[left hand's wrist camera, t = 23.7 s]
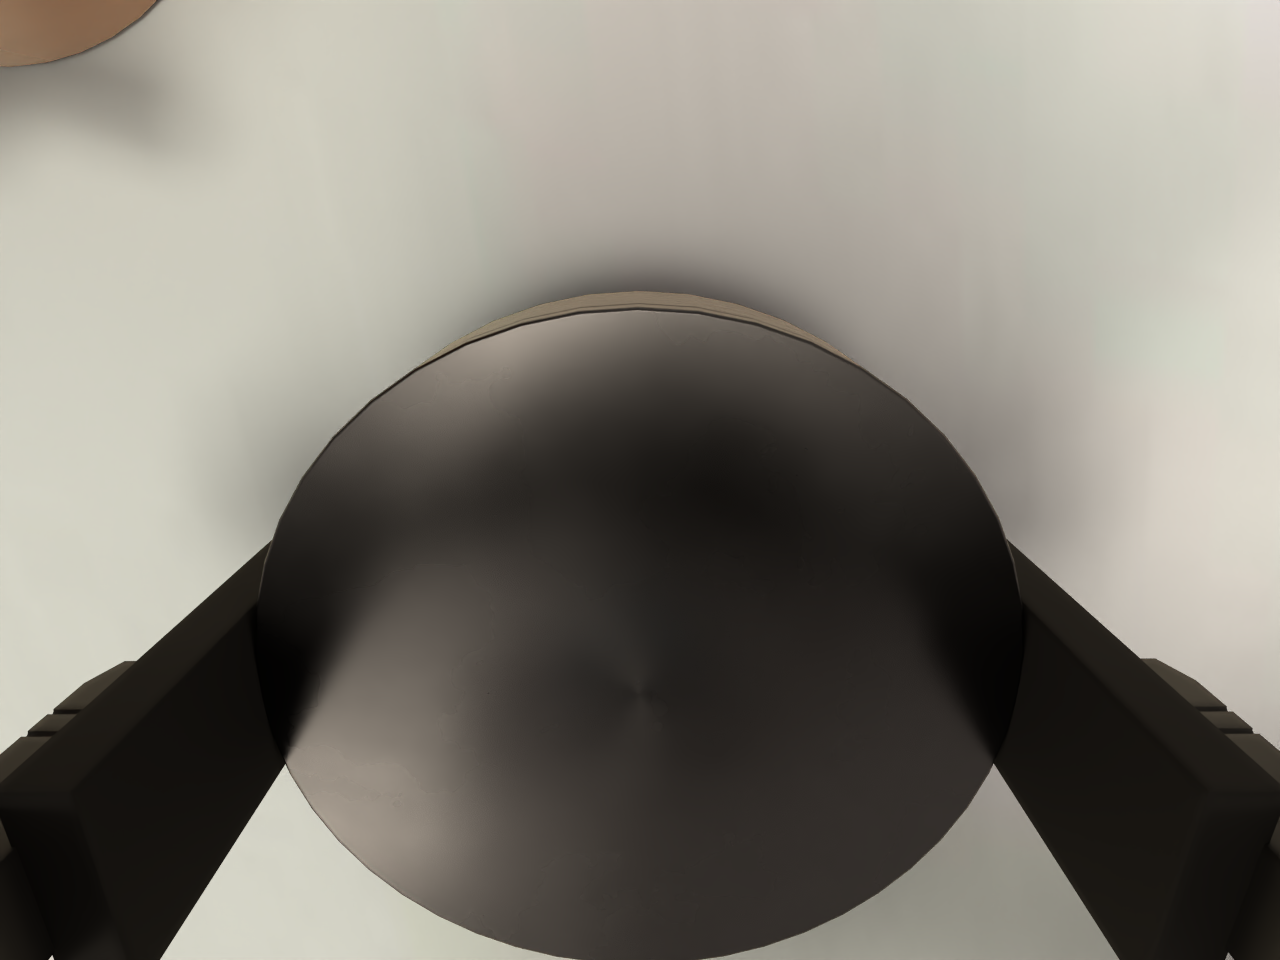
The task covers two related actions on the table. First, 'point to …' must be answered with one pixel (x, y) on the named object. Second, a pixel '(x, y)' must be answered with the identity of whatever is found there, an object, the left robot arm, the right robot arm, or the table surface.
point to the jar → (60, 27)
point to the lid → (639, 631)
